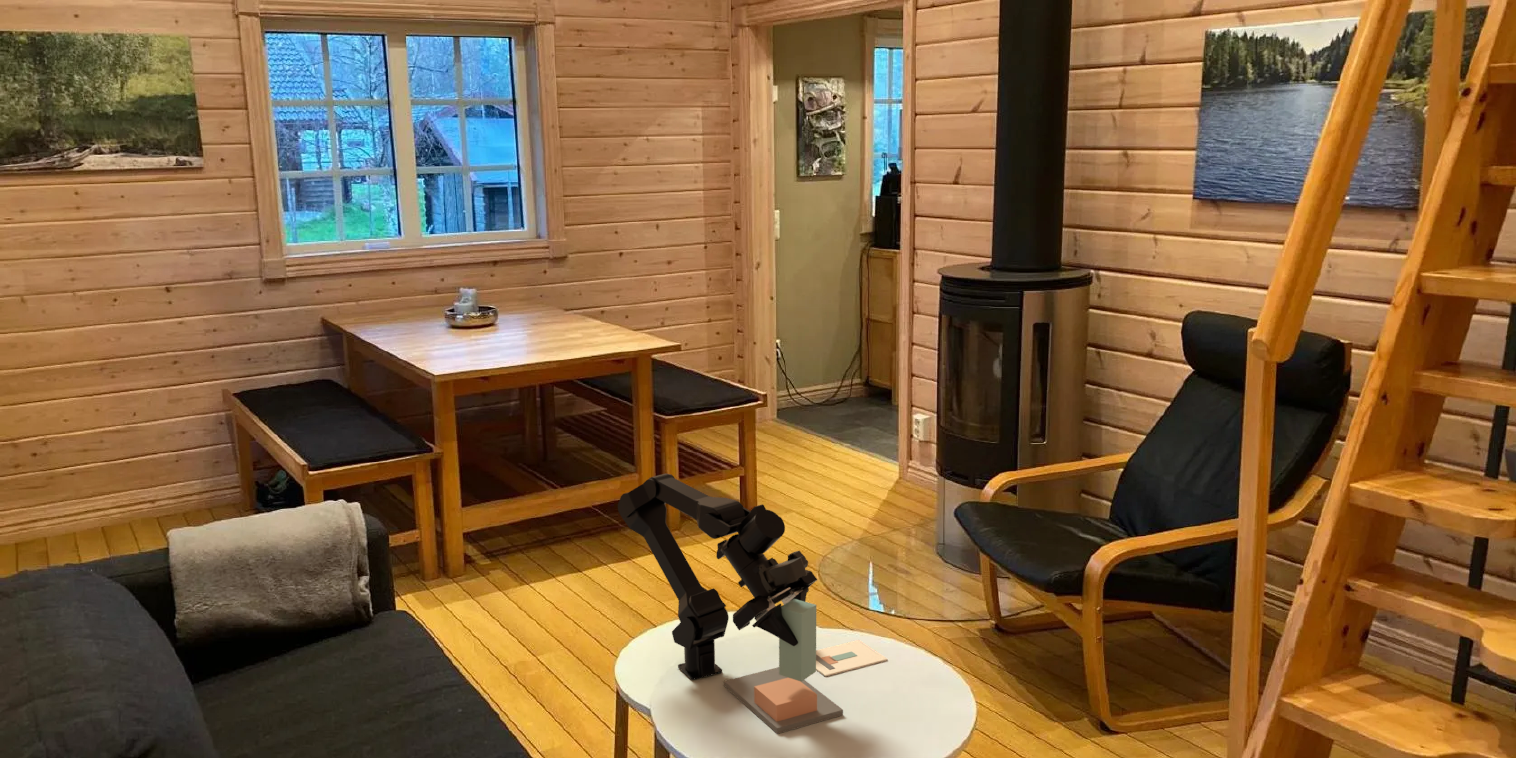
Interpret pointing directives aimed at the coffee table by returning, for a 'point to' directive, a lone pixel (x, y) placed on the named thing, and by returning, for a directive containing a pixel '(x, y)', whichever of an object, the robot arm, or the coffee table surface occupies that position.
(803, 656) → the tall brick
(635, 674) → the coffee table surface
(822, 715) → the baseplate
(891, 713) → the coffee table surface
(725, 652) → the coffee table surface
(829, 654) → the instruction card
